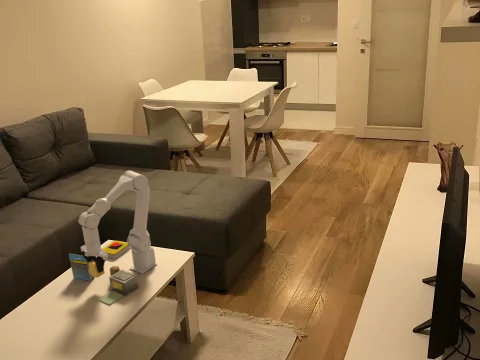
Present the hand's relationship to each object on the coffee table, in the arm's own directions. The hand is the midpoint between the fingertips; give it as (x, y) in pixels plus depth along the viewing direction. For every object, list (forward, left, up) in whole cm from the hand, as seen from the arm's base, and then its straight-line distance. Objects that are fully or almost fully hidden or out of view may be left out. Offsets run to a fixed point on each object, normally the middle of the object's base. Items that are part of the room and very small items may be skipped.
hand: (97, 270), depth 213 cm
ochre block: (0, 0, -2) cm, 2 cm away
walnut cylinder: (-7, +2, -8) cm, 11 cm away
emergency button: (-25, -18, -9) cm, 32 cm away
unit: (-5, +10, -8) cm, 14 cm away
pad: (+3, +10, -8) cm, 13 cm away
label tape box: (-2, -13, -9) cm, 15 cm away
